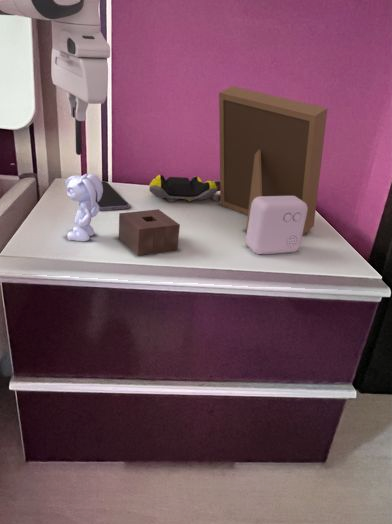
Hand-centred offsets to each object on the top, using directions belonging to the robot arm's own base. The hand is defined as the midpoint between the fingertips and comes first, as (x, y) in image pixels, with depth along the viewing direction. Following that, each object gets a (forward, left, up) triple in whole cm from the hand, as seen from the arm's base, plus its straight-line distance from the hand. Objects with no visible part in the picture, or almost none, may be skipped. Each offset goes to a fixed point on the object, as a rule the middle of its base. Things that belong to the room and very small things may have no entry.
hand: (77, 118), depth 112 cm
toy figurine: (-7, -19, -17) cm, 26 cm away
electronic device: (+25, -36, -17) cm, 47 cm away
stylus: (0, 0, -7) cm, 7 cm away
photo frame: (+30, -22, -17) cm, 41 cm away
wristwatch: (+34, -8, -15) cm, 38 cm away
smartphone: (+5, 0, -17) cm, 18 cm away
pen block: (+3, -26, -17) cm, 31 cm away
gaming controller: (+22, -5, -17) cm, 28 cm away
